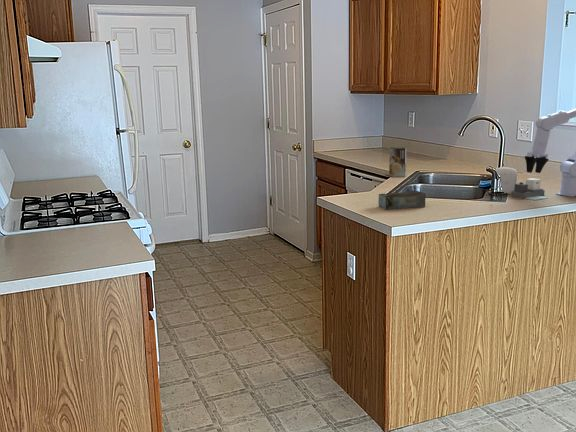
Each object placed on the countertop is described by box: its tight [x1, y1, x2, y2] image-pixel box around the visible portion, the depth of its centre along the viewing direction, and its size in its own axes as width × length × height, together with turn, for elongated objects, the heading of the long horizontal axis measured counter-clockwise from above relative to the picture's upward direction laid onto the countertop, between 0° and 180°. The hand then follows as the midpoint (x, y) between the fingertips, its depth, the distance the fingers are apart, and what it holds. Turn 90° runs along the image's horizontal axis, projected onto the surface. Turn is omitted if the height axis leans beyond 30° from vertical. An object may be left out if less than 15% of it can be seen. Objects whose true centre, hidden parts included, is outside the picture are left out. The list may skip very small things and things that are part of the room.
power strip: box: [510, 181, 546, 200], centre depth 265 cm, size 14×7×7 cm, turn 119°
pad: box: [524, 195, 549, 201], centre depth 260 cm, size 9×5×1 cm, turn 119°
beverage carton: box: [377, 190, 426, 211], centre depth 246 cm, size 8×19×7 cm, turn 105°
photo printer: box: [494, 166, 518, 195], centre depth 272 cm, size 10×4×12 cm, turn 60°
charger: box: [525, 177, 542, 190], centre depth 266 cm, size 4×5×5 cm
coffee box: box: [388, 146, 407, 178], centre depth 324 cm, size 9×6×16 cm
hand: (533, 172), depth 264 cm, fingers open, 7 cm apart
